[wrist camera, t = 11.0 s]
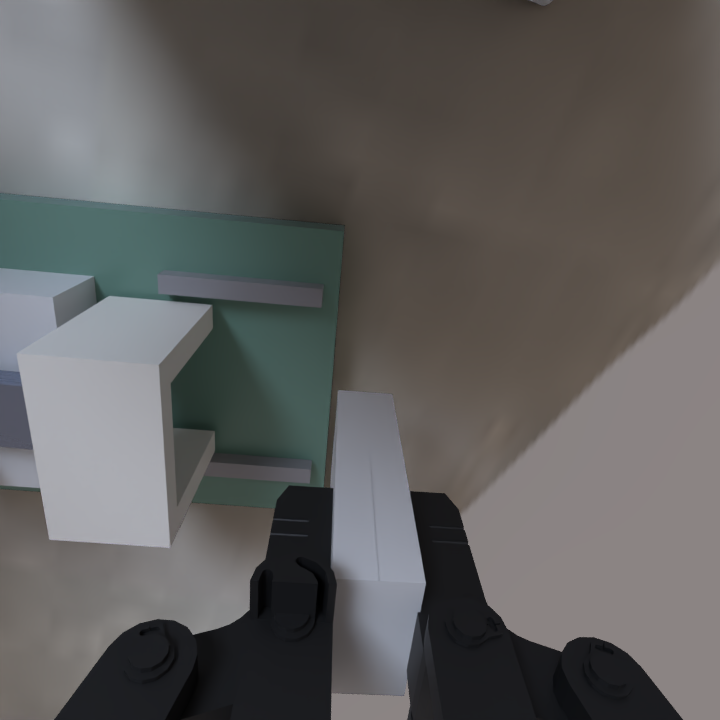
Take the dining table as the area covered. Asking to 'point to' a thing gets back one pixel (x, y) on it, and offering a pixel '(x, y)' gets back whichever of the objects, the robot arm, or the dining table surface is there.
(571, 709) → the robot arm
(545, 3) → the hard drive box
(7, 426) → the grey rectangular bar
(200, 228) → the board
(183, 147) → the dining table surface
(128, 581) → the dining table surface
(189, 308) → the white open-sided box
